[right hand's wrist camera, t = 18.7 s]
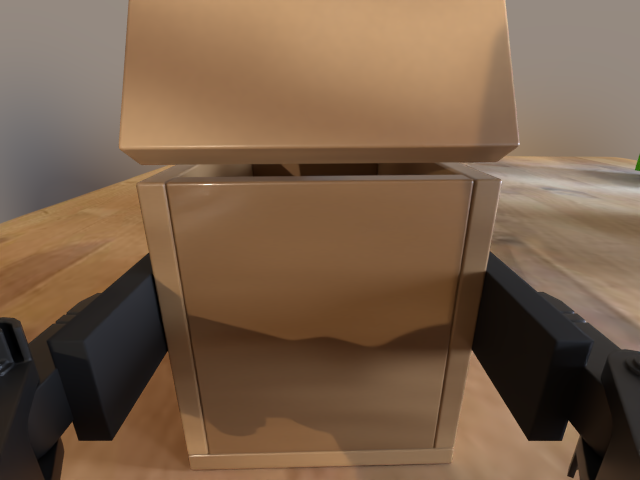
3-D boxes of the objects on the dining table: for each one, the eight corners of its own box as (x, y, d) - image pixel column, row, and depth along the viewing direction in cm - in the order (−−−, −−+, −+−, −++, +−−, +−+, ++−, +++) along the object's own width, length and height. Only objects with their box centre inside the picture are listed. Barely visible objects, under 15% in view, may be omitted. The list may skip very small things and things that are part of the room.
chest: (251, 282, 26) (239, 134, 22) (380, 280, 26) (389, 134, 22) (189, 470, 13) (134, 182, 9) (452, 464, 13) (504, 179, 9)
